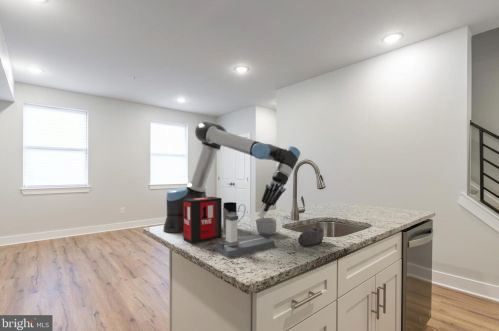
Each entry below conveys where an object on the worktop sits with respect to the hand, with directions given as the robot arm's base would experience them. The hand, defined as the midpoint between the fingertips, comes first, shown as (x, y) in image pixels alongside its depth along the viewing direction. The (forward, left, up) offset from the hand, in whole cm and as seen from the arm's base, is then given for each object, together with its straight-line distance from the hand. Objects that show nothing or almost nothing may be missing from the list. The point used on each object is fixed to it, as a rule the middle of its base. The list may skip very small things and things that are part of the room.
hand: (260, 216), depth 115 cm
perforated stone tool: (+16, +17, -12) cm, 26 cm away
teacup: (-11, +13, -12) cm, 21 cm away
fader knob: (+2, -17, -9) cm, 19 cm away
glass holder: (-31, +4, -12) cm, 33 cm away
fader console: (+2, -10, -12) cm, 16 cm away
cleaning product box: (-22, -19, -12) cm, 32 cm away
